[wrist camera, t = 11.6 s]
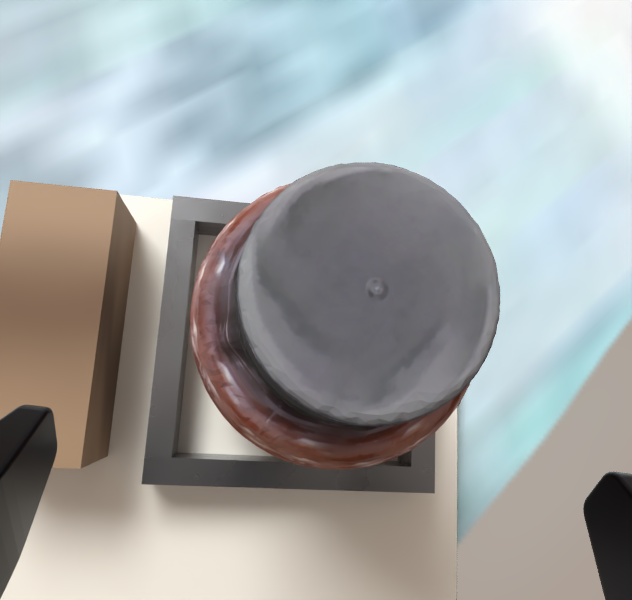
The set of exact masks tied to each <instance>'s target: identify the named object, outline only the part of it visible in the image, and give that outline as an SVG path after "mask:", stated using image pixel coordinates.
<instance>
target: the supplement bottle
mask: <svg viewBox="0 0 632 600" xmlns="http://www.w3.org/2000/svg"><path fill="white" fill-rule="evenodd" d="M499 306H500V286H499V282H498V274H497V268H496V263H495V260H494V257H493V254H492V252H491V249H490V247H489V245H488V243H487V241H486V239H485V237H484V235H483V233H482V231H481V229H480V227H479V225H478V224H477V223H476V222H475V221H474V220H473V218H472V217H471V216H470V214H469V213H468V212H467V210H466V209H465V208H464V207H463V206H462V205H461V204H460V203H459V202H458V201H457V200H456V199H455V198H454V197H453V196H452V195H450V194H449V193H448V192H447V191H446V190H445V189H444V188H442V187H440V186H438V185H437V184H435V183H434V182H432V181H431V180H429V179H427V178H425V177H423V176H421V175H419V174H417V173H414V172H410V171H409V170H407V169H403V168H400V167H397V166H394V165H388V164H382V163H350V164H338V165H335V166H330V167H326V168H323V169H320V170H317V171H315V172H313V173H310V174H308V175H306V176H304V177H302V178H300V179H298V180H296V181H294V182H293V183H291V184H288V185H285V186H280V187H278V188H276V189H275V190H273V191H271V192H269V193H266V194H264V195H262V196H261V197H259V198H258V199H257V200H255V201H254V202H252V203H251V204H249V205H248V206H247V207H245V208H244V209H242V210H241V211H240V212H239V213H238V214H237V215H236V216H235V217H234V218H232V220H231V221H230V222H228V223H227V224H226V226H225V227H224V228H223V229H222V231H221V232H220V233H219V235H218V236H217V237H216V239H215V240H214V242H213V243H212V245H211V247H210V248H209V250H208V252H207V255H206V256H205V258H204V260H203V262H202V264H201V266H200V269H199V272H198V276H197V278H196V281H195V286H194V290H193V295H192V302H191V309H190V335H191V344H192V350H193V355H194V359H195V363H196V366H197V369H198V372H199V375H200V377H201V380H202V382H203V384H204V387H205V389H206V391H207V393H208V394H209V396H210V398H211V399H212V401H213V403H214V404H215V406H216V407H217V409H218V410H219V411H220V413H221V414H222V416H223V417H224V418H225V419H226V420H227V421H228V422H229V423H230V425H231V426H232V427H233V428H234V429H235V430H236V431H237V432H238V433H240V434H241V435H242V436H243V437H244V438H246V439H247V440H249V441H250V442H251V443H253V444H254V445H256V446H257V447H259V448H260V449H262V450H264V451H266V452H267V453H269V454H271V455H273V456H275V457H277V458H280V459H283V460H286V461H288V462H291V463H294V464H298V465H302V466H306V467H312V468H318V469H330V470H343V469H355V468H363V467H370V466H373V465H377V464H380V463H383V462H386V461H388V460H391V459H394V458H396V457H398V456H400V455H402V454H404V453H407V452H409V451H411V450H412V449H413V448H415V447H416V446H418V445H419V444H421V443H422V442H423V441H425V440H426V439H427V438H429V437H430V436H431V435H433V434H434V433H435V432H436V431H437V430H438V429H439V428H440V427H441V426H442V425H443V424H444V423H445V422H446V420H447V419H448V418H449V417H450V416H451V414H452V413H453V412H454V410H455V409H456V408H457V406H458V405H459V404H460V402H461V399H462V398H463V396H464V394H465V392H466V390H467V388H468V387H469V385H470V382H471V380H472V379H473V378H474V377H475V375H476V374H477V373H478V371H479V369H480V367H481V366H482V364H483V363H484V361H485V359H486V357H487V355H488V353H489V350H490V348H491V346H492V343H493V339H494V336H495V334H496V329H497V324H498V320H499V312H500V309H499Z"/></svg>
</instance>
